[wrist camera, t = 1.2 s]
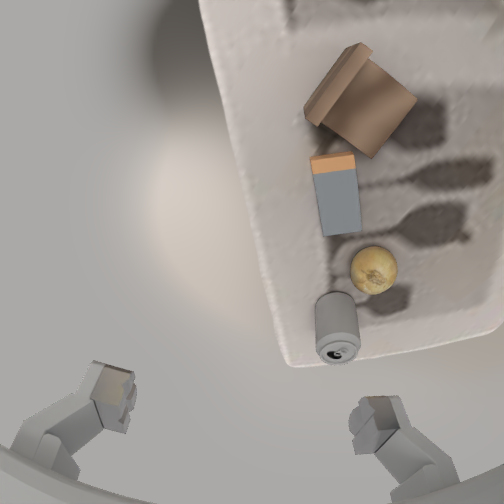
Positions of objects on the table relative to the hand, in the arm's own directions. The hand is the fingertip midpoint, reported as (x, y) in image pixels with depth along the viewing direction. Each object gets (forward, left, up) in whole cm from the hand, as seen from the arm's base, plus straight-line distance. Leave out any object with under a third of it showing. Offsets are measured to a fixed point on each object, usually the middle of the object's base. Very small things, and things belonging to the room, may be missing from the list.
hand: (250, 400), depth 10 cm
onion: (-10, +22, -37) cm, 45 cm away
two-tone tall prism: (-5, +9, -37) cm, 39 cm away
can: (-3, +31, -37) cm, 49 cm away
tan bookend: (-10, -4, -37) cm, 39 cm away
